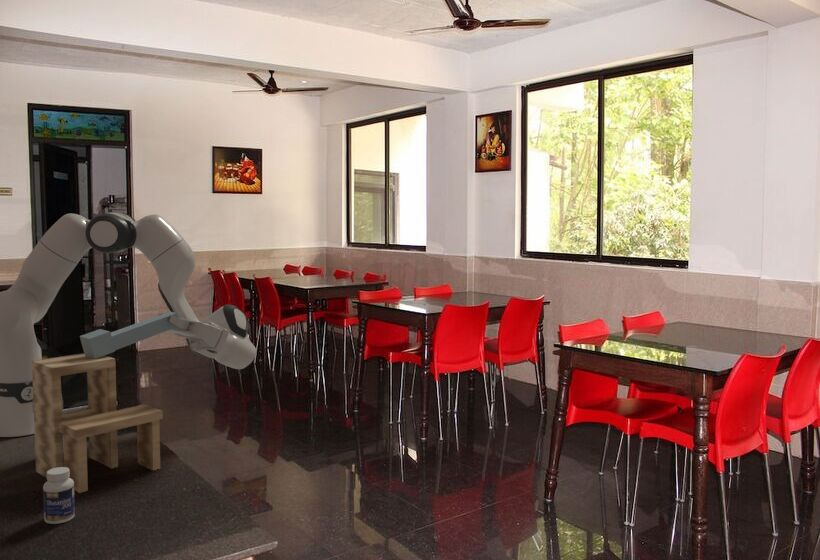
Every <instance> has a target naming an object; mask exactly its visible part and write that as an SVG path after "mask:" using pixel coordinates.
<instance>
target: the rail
mask: <svg viewBox="0 0 820 560" xmlns="http://www.w3.org/2000/svg"><path fill="white" fill-rule="evenodd" d="M170 315H171V316H175V317H177V318H178V315H177V313H174V312H171V311H168V312H165V313H161V315H159V316H158V315H156V316H153V317H150V318H148V319H147V318H146V319H144V320H142V321H139V322H136V323H133V324H130V325H128V326H125V327H123V328H120V329H117V330H114V331H109V330H105V329H101V328H99V329H96V330H93V331H91V332H87V333H85V334H82V335H79V338H80V343H81V347H82V350H83V353H84V354H85V356H87V357H90V358H93V359H97V358H99V357H102V356H104V355H105V356H108V355H109V354H112V353H114V352H116V351H117V350H119V349H120V350H121V349H123V348H126V347H128V346H130V345H134V344H135V343H138V342H141V341H144V340H147V339H150V338H152V337H154V336H157V335H160V334H162V333H165V332H167V331H168V330H170V329H173V328H176V327H178V326H176V325H174V324H171V323H170V322H168V321H167V319H168V318H169V316H170Z"/></svg>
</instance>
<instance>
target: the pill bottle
mask: <svg viewBox="0 0 820 560" xmlns="http://www.w3.org/2000/svg"><path fill="white" fill-rule="evenodd" d="M69 476H70V470H69V468H67V467H58V468H53V469H50V470H48V471H47V478H46V480H47V481H46V482H44V484H43V486H42V492H43V519H44V522H45V523H47V524H49V525H50V524H51V525H58V524H63V523H67V522H70V521H71V520H72V519H74V518H75V515H76V513H75V512H76V511H75V510H76V509H75V508H76V507H75V502H76V501H75V490H74V481H73V480H72V479H71V478H69Z"/></svg>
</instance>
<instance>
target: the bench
mask: <svg viewBox="0 0 820 560" xmlns="http://www.w3.org/2000/svg"><path fill="white" fill-rule="evenodd" d="M163 411H164V410H161V409H159V408H157V407H153V406H152V405H149V404H145V403H143V404H140V405H136V406H130V407H124V408H121V409H117V410H116V411H111V412H106V413H102V414H97V415H92V416H88V417H83V418H78V419H74V420H69V421H64V422H60V423H59V432H61V433H63V442H64V453H63V460H64V467H67V468H69V470H70V476H69V478H71V479H72V480H73V481H74V492H75V491H76V492H77V493H78V494H81V493H84V492H87V491H89V489H88V488H89V487H88V483H89V482H88V481H89V480H88V454H87V453H88V451H87V450H88V449H87V447H88V446H87V438H89V436H93V435H98V434H102V433H106V432H110V431H114V430H117V431H119V430H122V429H126V428H130V427H135V426H136V435H137V437H136V439H137V440H136V441H137V445H136V446H137V464H138V463H139V464H141V465H140V466H142V465H143V466H142V467H144V466H145V467H144V468H146V467H147V468H146V469H148V468H149V469H148V470H150V469H151V470H150V471H152V470H153V471H152V472H154V470H155V471H158V470H157V469H159V470H161V440H160V439H161V434H160V433H161V432H160V428H161V427H160V420H163V419H164V414H163V413H164V412H163ZM139 464H138V465H139Z"/></svg>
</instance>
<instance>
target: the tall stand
mask: <svg viewBox="0 0 820 560" xmlns="http://www.w3.org/2000/svg"><path fill="white" fill-rule="evenodd" d="M116 363H117V362H116V358H114V357H111V356H108V355H104V356H102V357H99V358H97V359H93V358H90V357H87V356H85V354H84V352H82V353H77V354H70V355H62V356H57V357H55V356H54V357H50V358H42V359H41V360H34V361H32V378H33V405H34V431H35V434H34V457H35V472H36V473H37V474H39V475H41V476H42V477H44V478H46V479H47V471H48V470H50V469H53V468H58V467H64V453H63V433H61V432H59V423H60V422H64V421H69V420H74V419H78V418H83V417H88V416H92V415H97V414H102V413H106V412H111V411H116V410H118V409H117V407H118V406H117V376H116V375H117V371H116V366H117V365H116ZM81 373H86V376H87V378H86V379H87V383H86V384H87V407H86V408H79V409H75V410H70V411H65V412H63V410H62V401H61V393H62V380H61V379H62V377H64V376H69V375H76V374H81ZM118 443H119V442H118V430H114V431H110V432H106V433H102V434H98V435H93V436H89V437H88V444H89V445H88V446H89V449H88V450H89V458H90V459H91V460H93V461H96V462H97V461H98V462H97V463H99V462H100V463H99V464H101V463H102V465H103V464H104V466H105V465H106V466H105V467H107V466H108V468H110V469H116V468H118V467H119V449H118V448H119V447H118V445H119V444H118ZM115 467H116V468H115Z"/></svg>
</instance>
